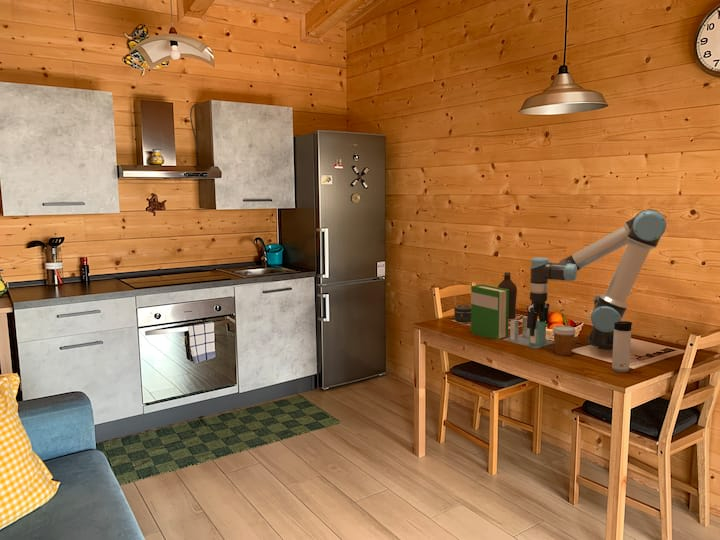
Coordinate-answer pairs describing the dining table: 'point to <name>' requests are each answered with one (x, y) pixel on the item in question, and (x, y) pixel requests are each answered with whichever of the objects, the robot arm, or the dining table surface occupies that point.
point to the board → (526, 342)
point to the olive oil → (510, 293)
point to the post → (514, 331)
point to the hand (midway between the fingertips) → (537, 341)
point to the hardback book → (489, 311)
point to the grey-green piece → (539, 334)
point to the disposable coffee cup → (563, 339)
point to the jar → (462, 313)
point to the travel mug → (621, 346)
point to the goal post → (525, 329)
